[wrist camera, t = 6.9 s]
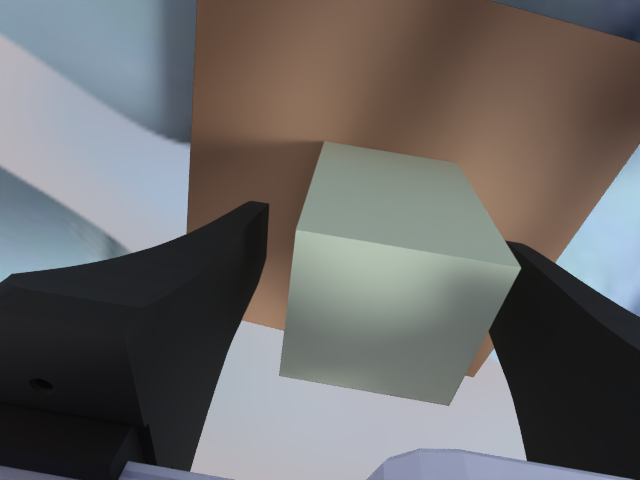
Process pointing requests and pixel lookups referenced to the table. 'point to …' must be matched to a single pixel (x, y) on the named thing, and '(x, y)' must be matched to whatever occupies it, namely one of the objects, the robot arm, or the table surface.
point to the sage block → (392, 276)
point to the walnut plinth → (407, 112)
